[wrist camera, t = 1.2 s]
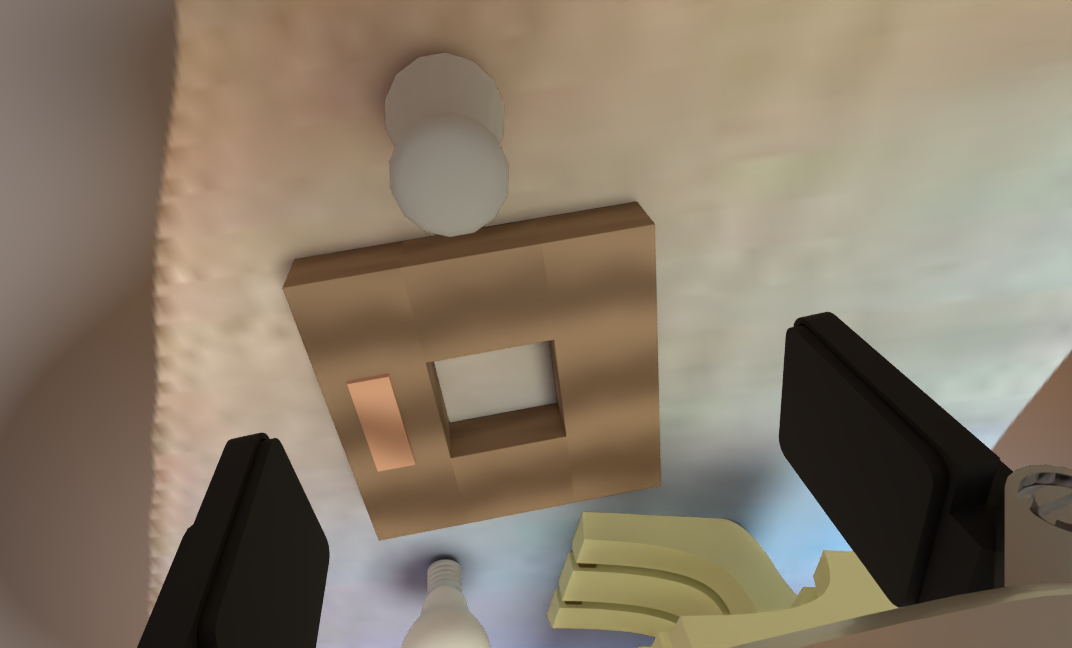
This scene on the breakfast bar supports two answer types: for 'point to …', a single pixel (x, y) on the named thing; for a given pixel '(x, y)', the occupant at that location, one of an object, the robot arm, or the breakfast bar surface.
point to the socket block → (480, 326)
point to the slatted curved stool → (698, 583)
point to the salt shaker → (446, 144)
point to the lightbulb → (445, 613)
